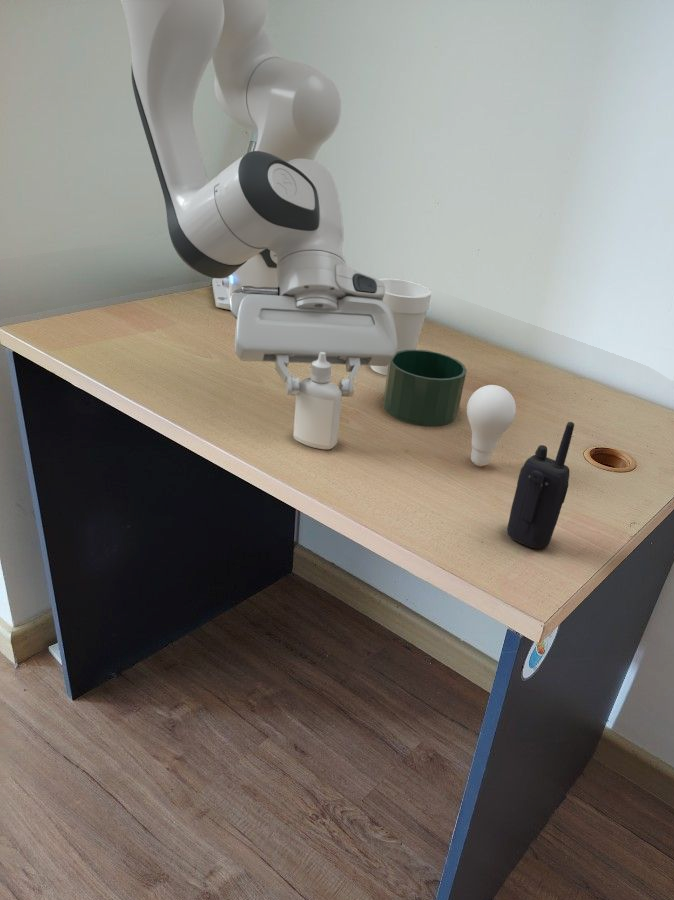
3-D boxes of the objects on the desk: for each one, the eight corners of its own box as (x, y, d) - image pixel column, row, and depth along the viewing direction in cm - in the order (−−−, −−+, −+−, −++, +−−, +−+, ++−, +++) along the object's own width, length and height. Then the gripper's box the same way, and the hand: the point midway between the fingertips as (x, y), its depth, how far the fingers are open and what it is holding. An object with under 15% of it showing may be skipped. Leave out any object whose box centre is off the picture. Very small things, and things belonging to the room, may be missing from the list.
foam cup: (382, 383, 117) (393, 299, 110) (349, 360, 123) (358, 279, 116) (430, 376, 122) (443, 295, 115) (396, 355, 128) (408, 277, 121)
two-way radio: (554, 544, 86) (591, 424, 77) (538, 560, 82) (574, 436, 74) (512, 524, 88) (543, 405, 80) (494, 539, 85) (524, 417, 76)
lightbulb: (463, 449, 102) (479, 372, 96) (506, 463, 101) (526, 385, 95) (449, 468, 97) (465, 388, 91) (494, 482, 96) (514, 402, 90)
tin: (371, 395, 113) (376, 350, 109) (435, 391, 117) (443, 348, 114) (403, 429, 105) (410, 381, 101) (471, 423, 110) (480, 377, 106)
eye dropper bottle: (313, 455, 95) (321, 364, 88) (288, 436, 98) (294, 347, 92) (341, 448, 98) (351, 359, 91) (316, 429, 101) (323, 342, 94)
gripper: (230, 271, 90) (236, 382, 88) (396, 283, 96) (405, 387, 94) (227, 297, 96) (232, 401, 94) (383, 306, 102) (391, 405, 100)
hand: (320, 394), depth 94 cm, fingers closed on eye dropper bottle, 5 cm apart
